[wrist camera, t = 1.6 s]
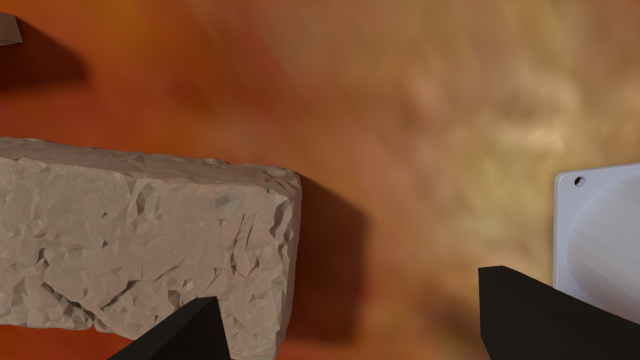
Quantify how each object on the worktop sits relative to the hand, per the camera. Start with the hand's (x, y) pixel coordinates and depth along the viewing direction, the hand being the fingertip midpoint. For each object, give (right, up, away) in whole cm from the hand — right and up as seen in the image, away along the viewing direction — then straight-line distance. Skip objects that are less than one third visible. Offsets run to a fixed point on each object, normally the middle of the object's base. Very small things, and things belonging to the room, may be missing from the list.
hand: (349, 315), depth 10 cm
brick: (-10, +1, +10) cm, 15 cm away
